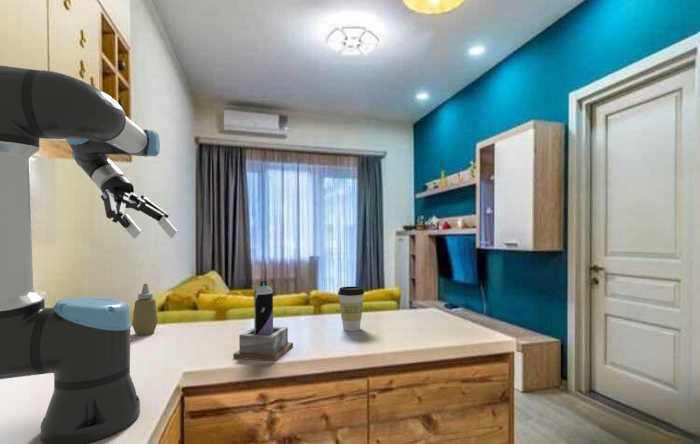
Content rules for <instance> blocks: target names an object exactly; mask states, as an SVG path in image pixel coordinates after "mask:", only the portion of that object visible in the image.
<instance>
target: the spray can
mask: <svg viewBox="0 0 700 444" xmlns="http://www.w3.org/2000/svg"><path fill="white" fill-rule="evenodd" d="M253 295H254V296H253V297H254V298H253V309H254V310H253V313H254V316H253V317H254V324H253V325H254V327H253V328H254V331H255V334H256V335H272V334H273V327H274V291H273V288H272V287H270V286H269V284H267V281H266V280H264V281H263V280H262V281H260V284H259V285H258V286H257V288H255V289H254V294H253Z"/></svg>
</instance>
